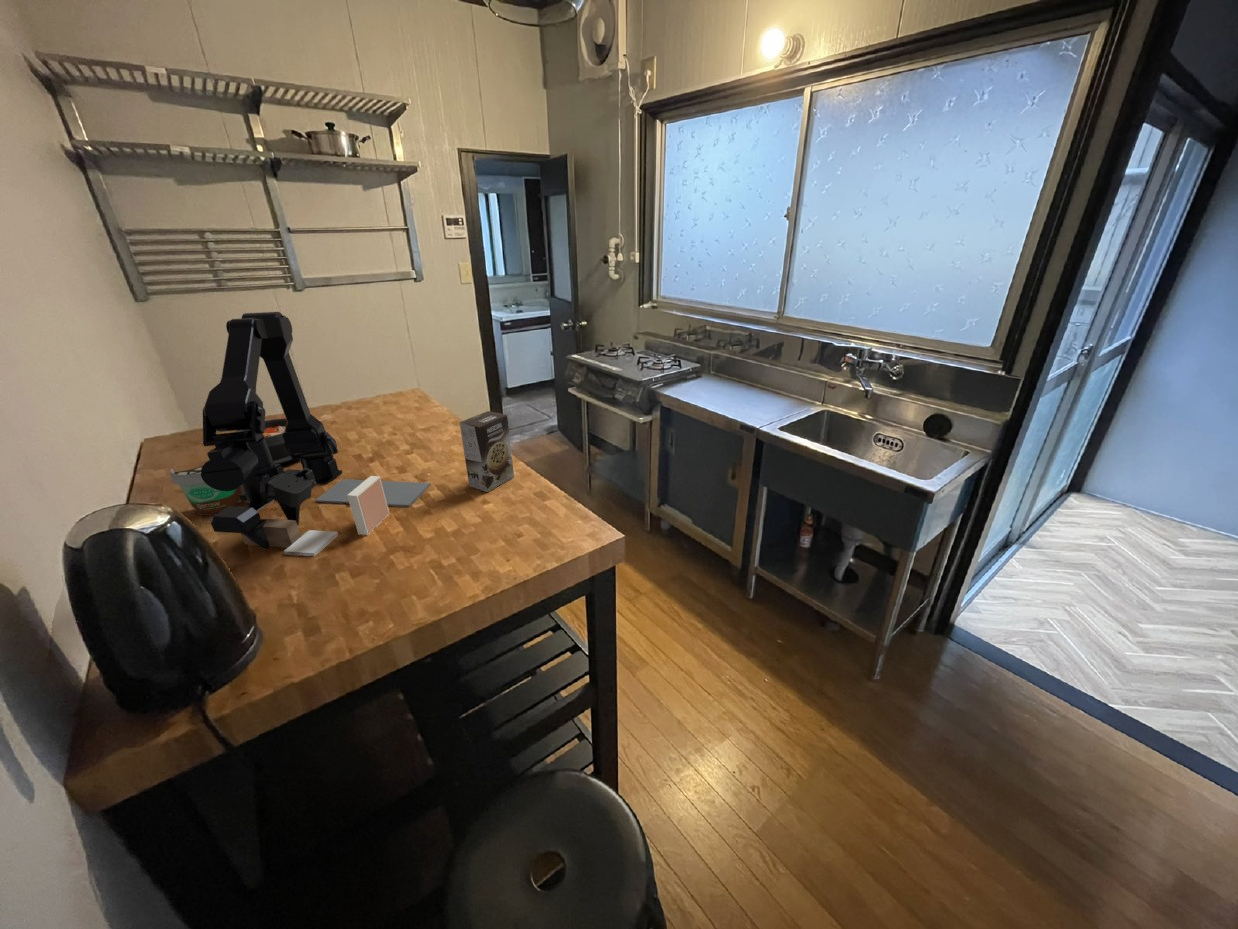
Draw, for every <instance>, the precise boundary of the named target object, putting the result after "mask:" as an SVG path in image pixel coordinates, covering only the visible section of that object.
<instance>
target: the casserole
mask: <svg viewBox="0 0 1238 929" xmlns="http://www.w3.org/2000/svg"><path fill="white" fill-rule="evenodd" d="M286 425H287V419H286V418H276V419H274V418H273V419H268V420H266V419H265V429H266V430H265V431H264V433H263V435H264V437H265V440H266V443H267V445H268V448H269V451H270V454H271V456H272V459H273V462H274V464H280V465H282V464H285V463H288V462H291V461H293V460H292V458H291V456H290V454H289V453H288V451H287V449H286V447H285V444H284V438H283V433H284V431H285V428H286ZM237 431H238V430H234V432H237Z"/></svg>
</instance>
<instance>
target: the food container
mask: <svg viewBox="0 0 1238 929" xmlns="http://www.w3.org/2000/svg"><path fill="white" fill-rule="evenodd" d="M202 466H203V465H201V466H199V467H195V468H191V469H188V470H187V469H185V470H181V471H176V472H175V471H174V469H173V468H171V469H170V478H171V479H170V480H171V483H173V484H174V485H177V486H179V488H180V489H181V491H182V493H183V494H184V495H185V497H186V498H187V500H188V501H189V504H190V505H191V506H192V508H193V510H194V511H195V512H196V514H197V513H199V514H198V515H200V514H201V516H214V515H216V514H217V513H219V512H221V511H222V510H224V509H225V508H227V507H229V506H236V507H241V505H243V504H244V503H245V502H246V501H247V500H241V499H240V497H239V495H240V494H242V493H243V492H244V491H243V489H242V486H240V487H239V488H237V489H235V490H232V491H219V490H216V489H213V488H211V487H210V486H208V485H207V484H206V483H205V482H204V481H203V479H202V477H201V469H202ZM213 514H214V515H213Z"/></svg>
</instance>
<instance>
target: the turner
mask: <svg viewBox="0 0 1238 929" xmlns="http://www.w3.org/2000/svg"><path fill="white" fill-rule="evenodd" d="M260 519H264V520H267V521H266V523H265V524H264V526H263V528H264V530H265V533H266V536H267V539H268V542H269V547H281V548H286V549H284V550H283V553H284V555H285V556H287V555H289V556H301V555H303V556H305V557H316V556H317V555H318V554H319V553H320V552H322V551H323V549H324V548H325V547H327V546H329V544H330V543H331V542H332V541H333V540H335V538H337V537H338V536H339V533H338V531H331V530H330V531H329V530H328V531H327V530H313V529H311V530H310V529H309V530H308V531H306V532H305V533H304V534H303V535H302V534H301V531H300V528H299V525H297V523H296V520H288V519H278V518H277V519H276V518H275V519H273V518H261V517H260ZM240 535H241V537H242V540H243V542H244V545H245V544H249V545H250V544H251V545H252V546H258V545H257V544H256V543H255V542H253V541H252V540H250V539H249V538H248V537H246V536H245V535H244V534H242V533H240ZM249 545H248V546H249ZM251 545H250V546H251Z"/></svg>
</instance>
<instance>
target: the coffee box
mask: <svg viewBox="0 0 1238 929" xmlns="http://www.w3.org/2000/svg"><path fill="white" fill-rule="evenodd" d="M459 428H460V434H461V436H460V437H461V441H462V447H463V448H462V449H463V455H464V460H465V468H466V472H467V473H466V474H467V480H468V486H469V487H471V488H474V489H476V490H480V491H482V492H485V493H488V492H491V491H492V490H494V489H496V488H498V487H500V486H501V485H504V484H505V483H507V482H508V481H510V480H512V479H514V478H515V471H514V463H513V455H512V446H511V437H510V428H509V419H508V415H507V414H503V413H500V412H495V411H489V410H487V411H484V412H482V413H480V414H477V415H475V416H472V417H469V418H467V419H464V420H461V421H459ZM499 485H500V486H499ZM497 486H498V487H497Z"/></svg>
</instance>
